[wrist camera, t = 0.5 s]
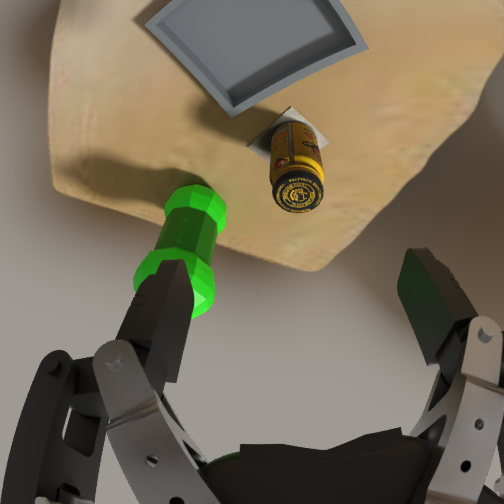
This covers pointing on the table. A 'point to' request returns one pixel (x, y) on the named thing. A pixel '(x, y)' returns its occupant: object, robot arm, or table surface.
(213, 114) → the table surface
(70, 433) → the robot arm
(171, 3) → the tray
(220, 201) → the plastic bottle
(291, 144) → the condiment
